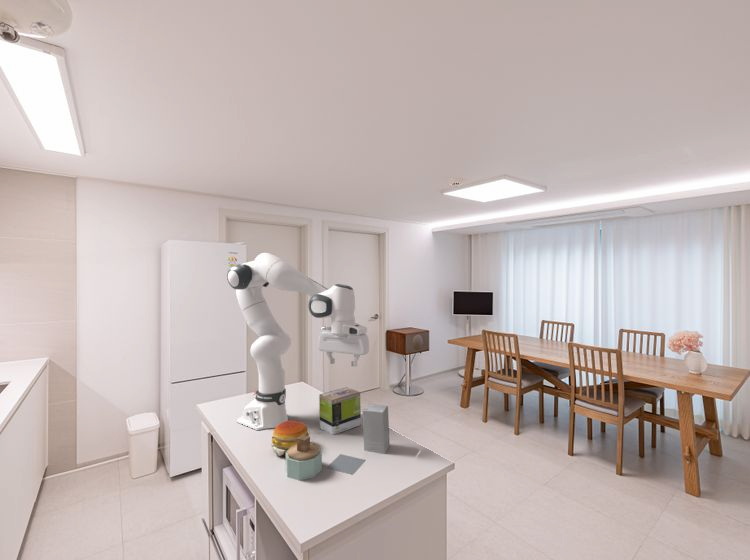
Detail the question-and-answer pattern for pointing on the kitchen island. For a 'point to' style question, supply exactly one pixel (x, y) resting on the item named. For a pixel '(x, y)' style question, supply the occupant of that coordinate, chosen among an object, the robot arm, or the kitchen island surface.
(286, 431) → the burger
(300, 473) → the bowl
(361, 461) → the mat
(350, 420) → the tea box
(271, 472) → the kitchen island surface
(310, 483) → the kitchen island surface
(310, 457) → the lid
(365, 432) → the skincare box
